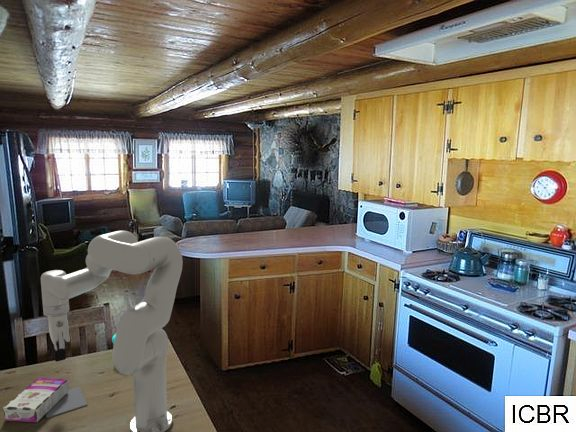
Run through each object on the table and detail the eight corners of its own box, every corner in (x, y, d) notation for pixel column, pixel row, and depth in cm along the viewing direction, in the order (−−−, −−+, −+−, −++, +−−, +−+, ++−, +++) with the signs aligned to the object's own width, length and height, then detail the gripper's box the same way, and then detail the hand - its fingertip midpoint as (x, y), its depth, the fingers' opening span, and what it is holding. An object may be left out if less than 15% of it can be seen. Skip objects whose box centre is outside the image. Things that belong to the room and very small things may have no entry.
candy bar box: (40, 390, 147) (3, 421, 131) (38, 377, 146) (1, 406, 130) (69, 392, 145) (36, 423, 129) (68, 379, 144) (34, 409, 128)
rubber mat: (87, 405, 139) (87, 404, 139) (46, 418, 132) (46, 417, 132) (79, 387, 150) (79, 386, 149) (40, 398, 142) (40, 397, 142)
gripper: (73, 312, 134) (77, 365, 137) (64, 299, 146) (68, 348, 149) (46, 317, 129) (51, 372, 132) (40, 303, 141) (44, 354, 144)
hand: (60, 359), depth 140 cm, fingers closed
